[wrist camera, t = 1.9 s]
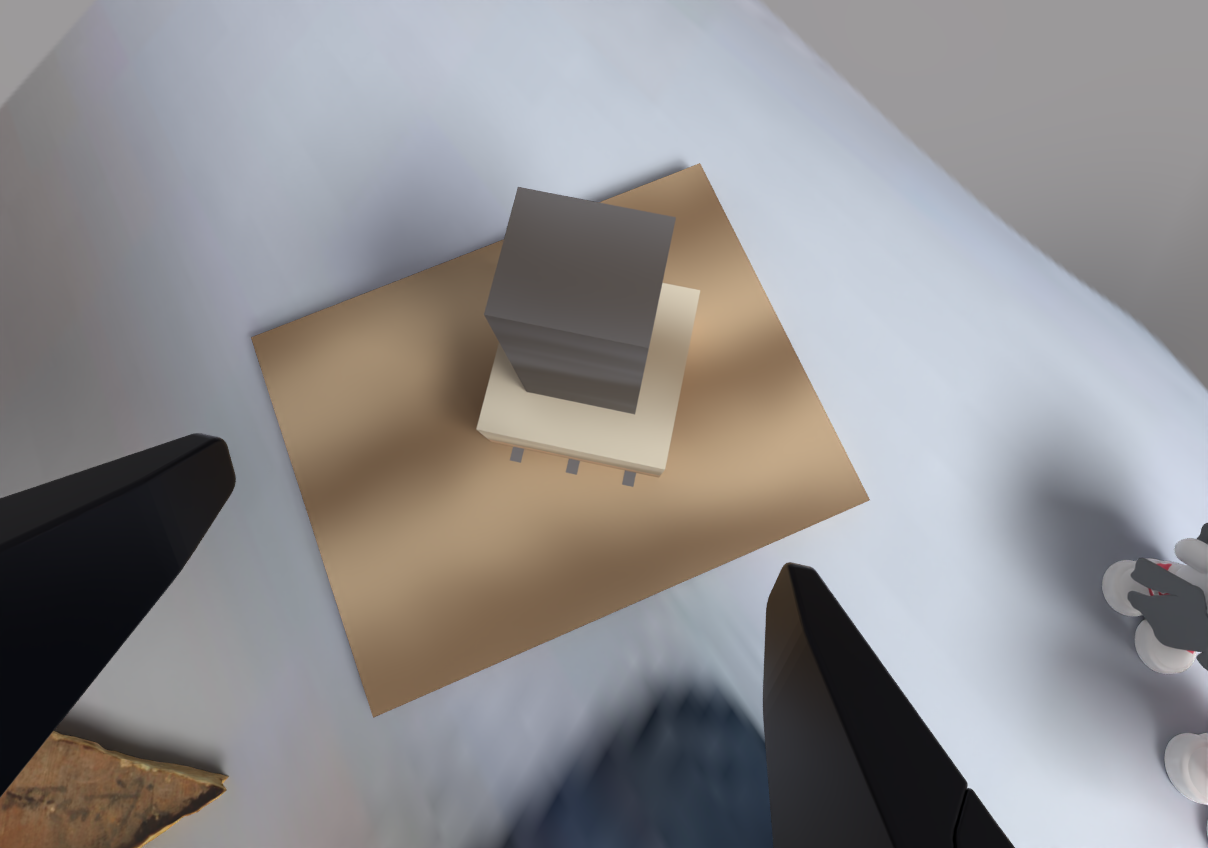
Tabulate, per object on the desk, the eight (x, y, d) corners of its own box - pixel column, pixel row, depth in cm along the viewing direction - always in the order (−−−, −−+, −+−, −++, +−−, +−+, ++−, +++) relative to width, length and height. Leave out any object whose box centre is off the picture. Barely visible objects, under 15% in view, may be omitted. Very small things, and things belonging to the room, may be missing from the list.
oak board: (860, 501, 21) (870, 500, 21) (382, 710, 20) (373, 717, 19) (697, 175, 24) (699, 162, 23) (263, 344, 23) (250, 337, 22)
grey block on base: (658, 477, 21) (695, 430, 12) (491, 441, 21) (406, 370, 12) (690, 317, 22) (745, 166, 13) (530, 285, 22) (479, 117, 13)
